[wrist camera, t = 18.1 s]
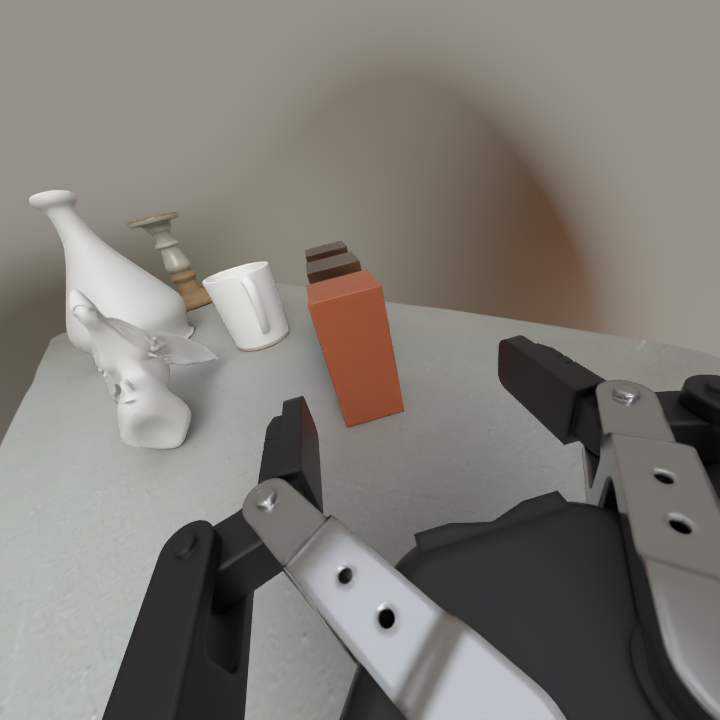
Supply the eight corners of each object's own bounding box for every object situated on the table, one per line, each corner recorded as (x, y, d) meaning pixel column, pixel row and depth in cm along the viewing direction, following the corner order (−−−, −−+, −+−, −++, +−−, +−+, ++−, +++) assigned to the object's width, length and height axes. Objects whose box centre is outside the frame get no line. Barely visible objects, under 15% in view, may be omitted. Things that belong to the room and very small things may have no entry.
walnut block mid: (371, 341, 37) (351, 251, 32) (380, 360, 33) (359, 259, 27) (332, 351, 37) (305, 263, 31) (336, 372, 33) (306, 273, 27)
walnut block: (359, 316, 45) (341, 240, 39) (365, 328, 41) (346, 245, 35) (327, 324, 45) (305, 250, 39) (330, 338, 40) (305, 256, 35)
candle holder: (173, 305, 79) (127, 224, 69) (220, 290, 83) (183, 211, 72) (169, 317, 69) (115, 224, 59) (222, 299, 73) (180, 209, 62)
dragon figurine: (-62, 412, 15) (-22, 282, 22) (140, 507, 29) (124, 407, 36) (183, 324, 19) (149, 238, 26) (258, 443, 33) (222, 365, 40)
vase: (104, 384, 43) (-50, 193, 31) (87, 360, 55) (-32, 213, 42) (214, 331, 54) (131, 170, 41) (180, 320, 65) (107, 191, 52)
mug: (229, 341, 47) (198, 278, 42) (281, 320, 51) (258, 259, 45) (246, 365, 39) (209, 290, 34) (306, 338, 42) (281, 265, 37)
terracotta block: (389, 379, 29) (367, 269, 24) (404, 411, 25) (381, 284, 19) (340, 393, 29) (306, 284, 24) (347, 427, 25) (307, 304, 19)
